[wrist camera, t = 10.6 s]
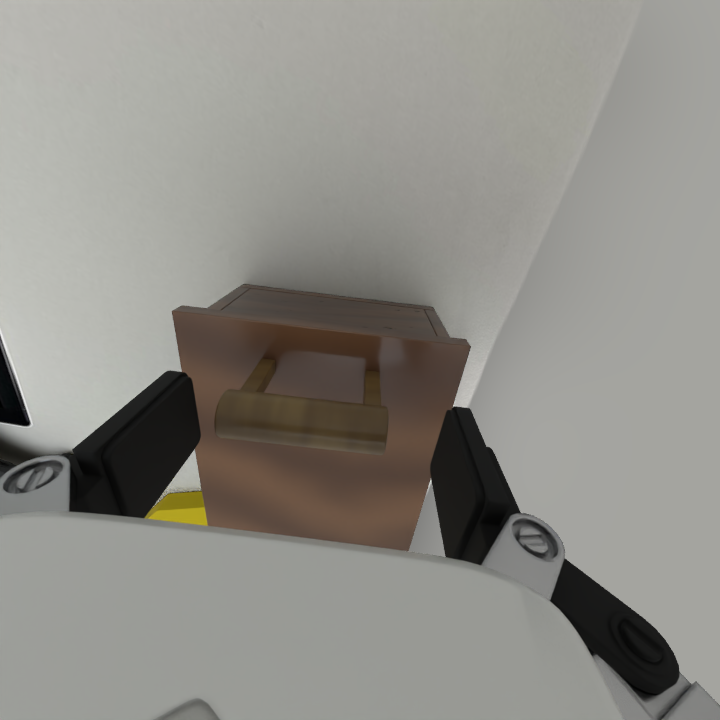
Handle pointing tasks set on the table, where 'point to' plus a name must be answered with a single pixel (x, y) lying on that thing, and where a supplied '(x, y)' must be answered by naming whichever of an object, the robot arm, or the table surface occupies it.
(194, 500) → the decorative disc
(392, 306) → the chest
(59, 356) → the table surface
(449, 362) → the lid
